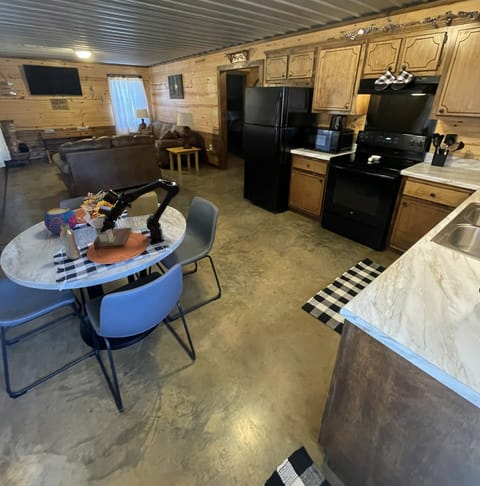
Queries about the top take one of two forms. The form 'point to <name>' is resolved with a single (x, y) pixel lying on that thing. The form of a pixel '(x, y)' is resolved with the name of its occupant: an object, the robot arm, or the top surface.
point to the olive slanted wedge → (114, 239)
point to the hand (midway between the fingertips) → (101, 229)
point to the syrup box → (98, 224)
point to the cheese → (143, 205)
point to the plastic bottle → (69, 242)
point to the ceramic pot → (59, 219)
